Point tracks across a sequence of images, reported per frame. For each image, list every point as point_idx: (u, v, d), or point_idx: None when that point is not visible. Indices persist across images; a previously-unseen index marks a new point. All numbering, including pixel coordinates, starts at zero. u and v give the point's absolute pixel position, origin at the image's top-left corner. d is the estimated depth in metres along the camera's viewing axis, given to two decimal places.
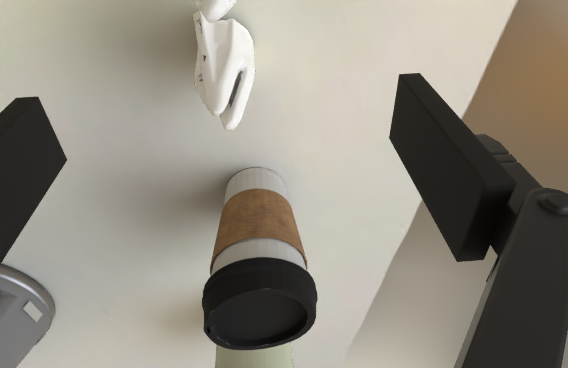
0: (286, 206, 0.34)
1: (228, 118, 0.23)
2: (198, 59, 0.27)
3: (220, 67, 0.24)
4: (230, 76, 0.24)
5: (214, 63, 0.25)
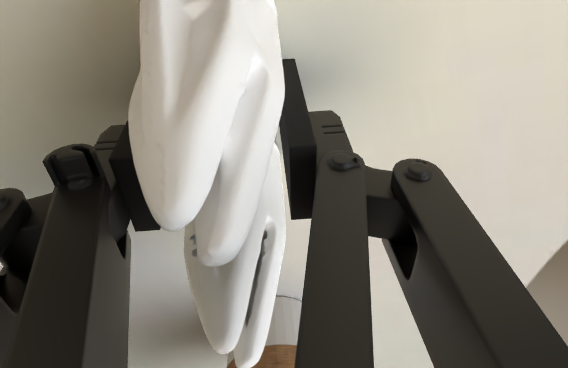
0: None
1: (244, 350, 0.12)
2: None
3: None
4: (248, 265, 0.13)
5: None
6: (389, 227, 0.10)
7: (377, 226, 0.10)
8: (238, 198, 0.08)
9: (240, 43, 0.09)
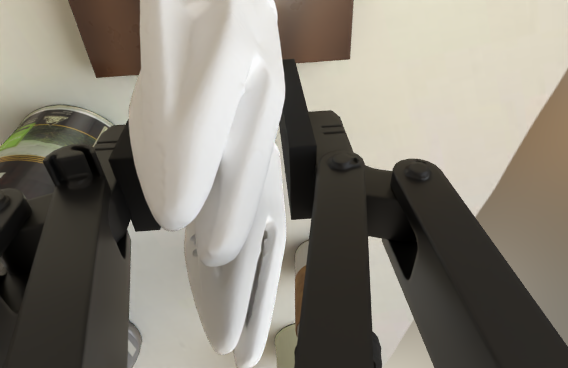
0: None
1: (244, 350, 0.12)
2: None
3: None
4: (248, 265, 0.13)
5: None
6: (388, 228, 0.10)
7: (377, 226, 0.10)
8: (238, 198, 0.08)
9: (240, 43, 0.09)
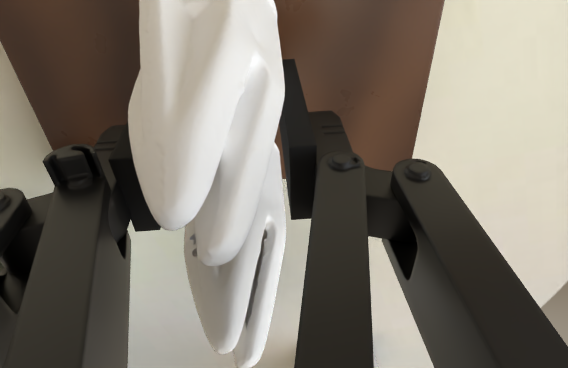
0: None
1: (244, 350, 0.12)
2: None
3: None
4: (248, 264, 0.13)
5: None
6: (388, 228, 0.10)
7: (377, 226, 0.10)
8: (238, 198, 0.08)
9: (239, 42, 0.09)
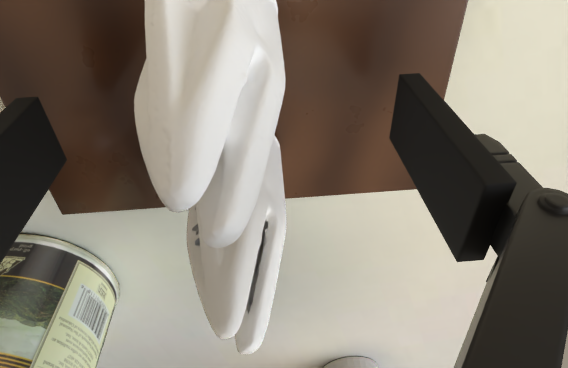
0: None
1: (246, 336, 0.13)
2: None
3: None
4: (249, 253, 0.13)
5: None
6: None
7: None
8: (241, 183, 0.08)
9: (241, 34, 0.09)
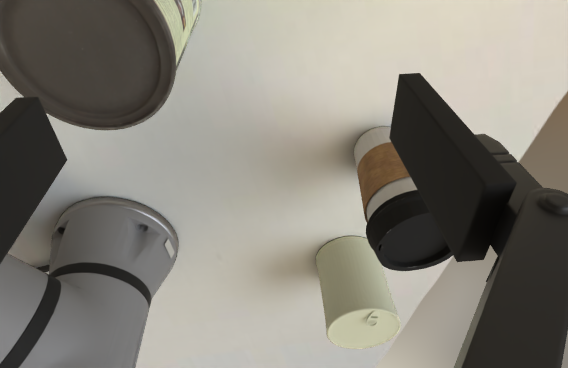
0: None
1: None
2: None
3: None
4: None
5: None
6: None
7: None
8: None
9: None
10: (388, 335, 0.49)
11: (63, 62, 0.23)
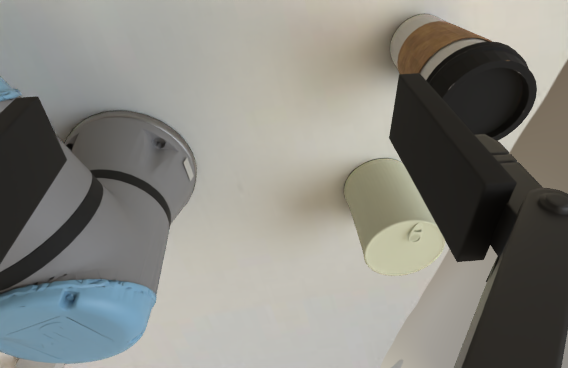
0: None
1: None
2: None
3: None
4: None
5: None
6: None
7: None
8: None
9: None
10: (431, 256, 0.44)
11: None
